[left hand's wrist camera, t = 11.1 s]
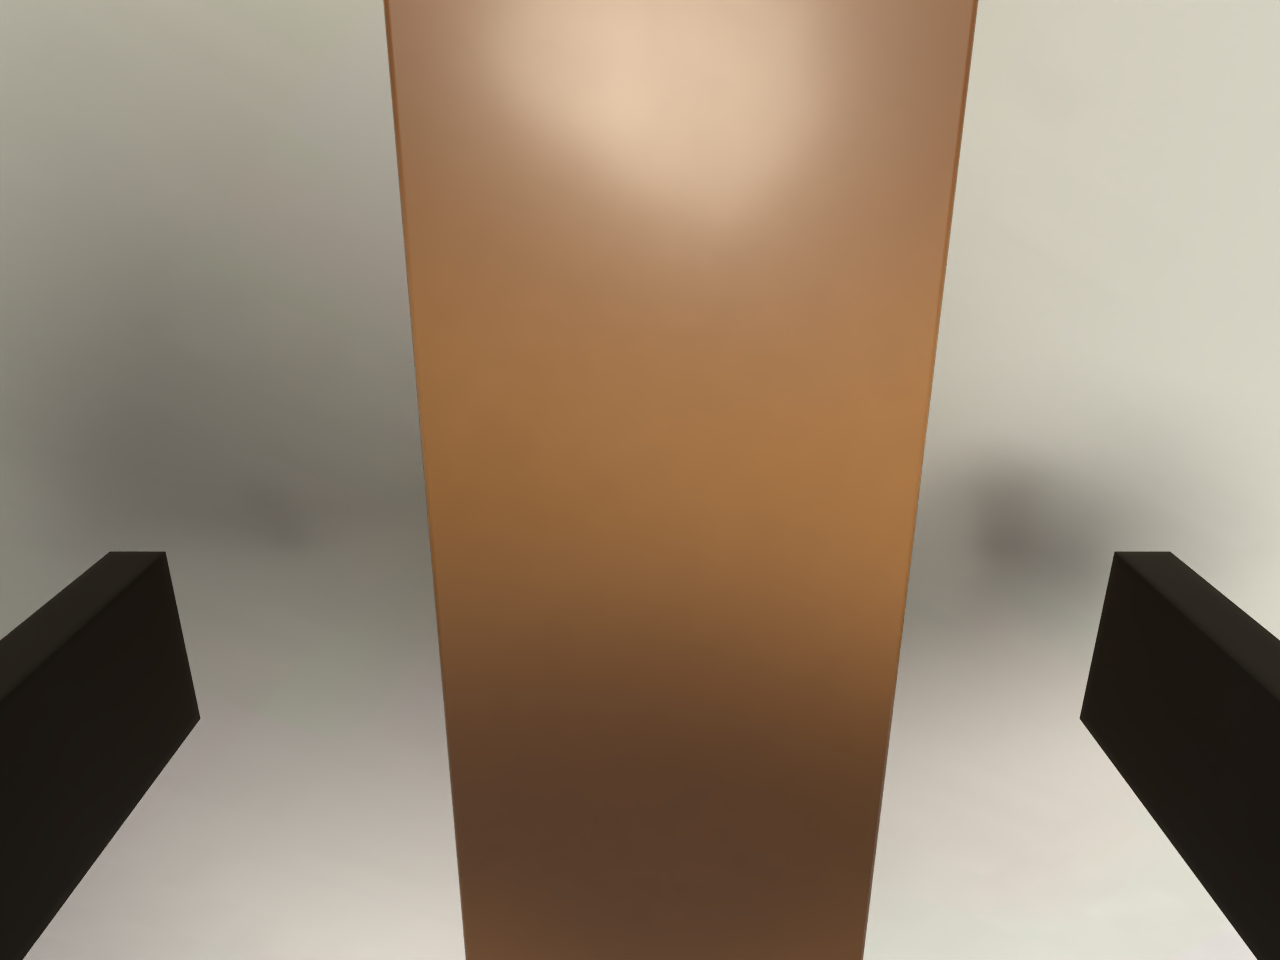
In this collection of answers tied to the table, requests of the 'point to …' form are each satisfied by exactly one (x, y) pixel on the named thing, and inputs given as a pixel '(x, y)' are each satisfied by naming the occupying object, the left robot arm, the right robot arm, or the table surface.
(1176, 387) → the table surface
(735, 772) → the post
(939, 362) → the table surface
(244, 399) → the table surface
